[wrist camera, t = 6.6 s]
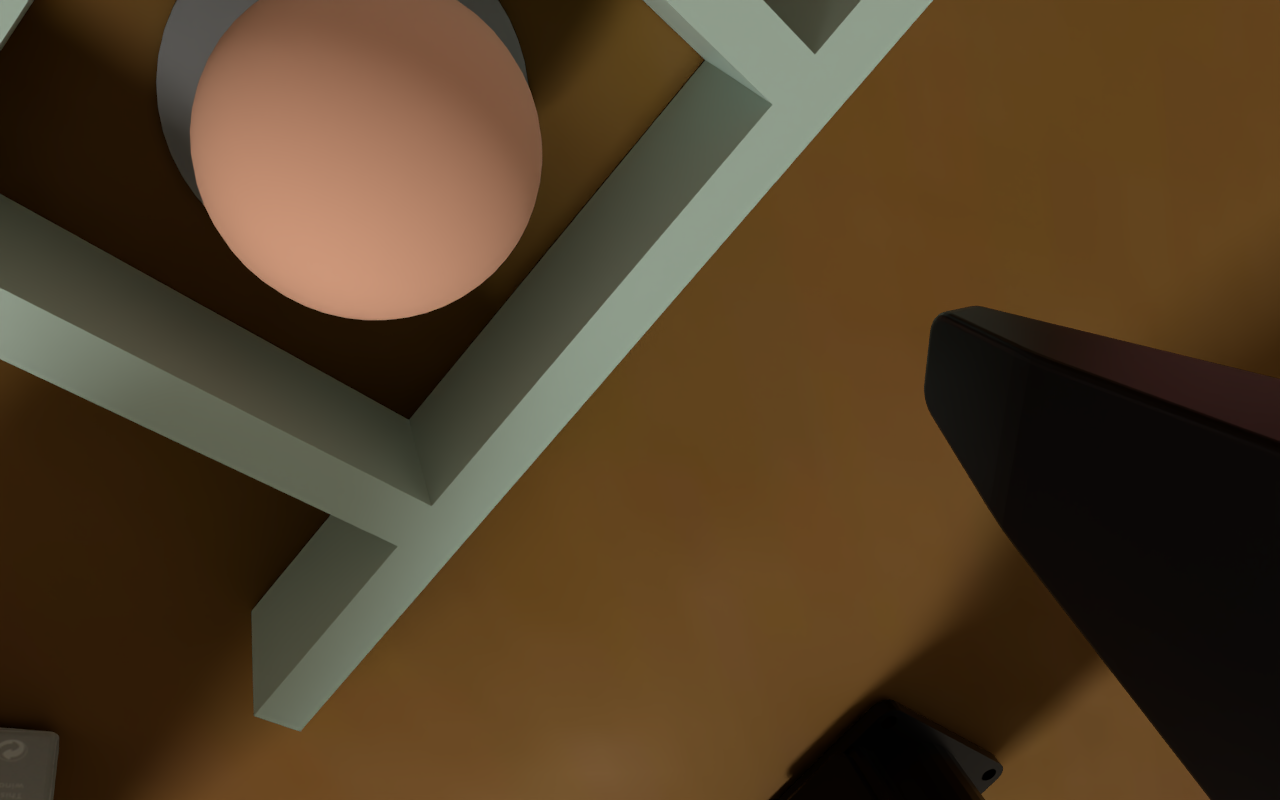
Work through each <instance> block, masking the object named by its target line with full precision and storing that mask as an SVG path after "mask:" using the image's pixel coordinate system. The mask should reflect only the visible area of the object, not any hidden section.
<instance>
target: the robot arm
mask: <svg viewBox="0 0 1280 800" xmlns="http://www.w3.org/2000/svg"><path fill="white" fill-rule="evenodd" d="M924 393H925V400H926V404H927V407H928V409H929V411H930V413H931V415H932V417H933V419H934V420H935V422H936V424H937V425H938V427H939V428H940V430H941V432H942V433H943V435H944V437H945V438H946V440H947V442H948V443H949V445H950V446H951V448H952V450H953V451H954V453H955V455H956V456H957V458H958V460H959V461H960V463H961V464H962V466H963V468H964V469H965V471H966V473H967V474H968V476H969V478H970V479H971V481H972V483H973V484H974V486H975V487H976V489H977V491H978V492H979V494H980V496H981V497H982V499H983V501H984V502H985V504H986V505H987V507H988V509H989V510H990V512H991V513H992V515H993V516H994V518H995V519H996V521H997V522H998V524H999V525H1000V527H1001V528H1002V530H1003V531H1004V533H1005V534H1006V535H1007V537H1008V538H1009V540H1010V541H1011V542H1012V544H1013V545H1014V546H1015V548H1016V549H1017V550H1018V552H1019V553H1020V554H1021V555H1022V557H1023V558H1024V559H1025V561H1026V562H1027V563H1028V565H1029V566H1030V567H1031V568H1032V570H1033V571H1034V572H1035V574H1036V575H1037V576H1038V577H1039V579H1040V580H1041V581H1042V583H1043V584H1044V585H1045V586H1046V588H1047V589H1048V590H1049V592H1050V593H1051V594H1052V596H1053V597H1054V598H1055V599H1056V601H1057V602H1058V603H1059V605H1060V606H1061V607H1062V608H1063V610H1064V611H1065V612H1066V614H1067V615H1068V616H1069V618H1070V619H1071V620H1072V621H1073V623H1074V624H1075V625H1076V627H1077V628H1078V629H1079V630H1080V632H1081V633H1082V634H1083V636H1084V637H1085V638H1086V639H1087V641H1088V642H1089V643H1090V645H1091V646H1092V647H1093V649H1094V650H1095V651H1096V652H1097V654H1098V655H1099V656H1100V658H1101V659H1102V660H1103V661H1104V663H1105V664H1106V665H1107V667H1108V668H1109V669H1110V670H1111V672H1112V673H1113V674H1114V676H1115V677H1116V678H1117V680H1118V681H1119V682H1120V683H1121V685H1122V686H1123V687H1124V689H1125V690H1126V691H1127V692H1128V694H1129V695H1130V696H1131V698H1132V699H1133V700H1134V701H1135V703H1136V704H1137V705H1138V707H1139V708H1140V709H1141V711H1142V712H1143V713H1144V714H1145V716H1146V717H1147V718H1148V720H1149V721H1150V722H1151V723H1152V725H1153V726H1154V727H1155V729H1156V730H1157V731H1158V732H1159V734H1160V735H1161V736H1162V738H1163V739H1164V740H1165V742H1166V743H1167V744H1168V745H1169V747H1170V748H1171V749H1172V751H1173V752H1174V753H1175V754H1176V756H1177V757H1178V758H1179V760H1180V761H1181V762H1182V763H1183V765H1184V766H1185V767H1186V769H1187V770H1188V771H1189V773H1190V774H1191V775H1192V776H1193V778H1194V779H1195V780H1196V782H1197V783H1198V784H1199V785H1200V787H1201V788H1202V789H1203V791H1204V792H1205V793H1206V794H1207V796H1208V797H1209V798H1210V800H1280V379H1278V378H1274V377H1269V376H1265V375H1261V374H1257V373H1253V372H1249V371H1245V370H1241V369H1236V368H1232V367H1228V366H1224V365H1220V364H1216V363H1212V362H1208V361H1204V360H1199V359H1195V358H1191V357H1187V356H1183V355H1179V354H1175V353H1171V352H1167V351H1162V350H1158V349H1154V348H1150V347H1146V346H1142V345H1138V344H1134V343H1130V342H1125V341H1121V340H1117V339H1113V338H1109V337H1105V336H1101V335H1097V334H1093V333H1088V332H1084V331H1080V330H1076V329H1072V328H1068V327H1064V326H1060V325H1056V324H1051V323H1047V322H1043V321H1039V320H1035V319H1031V318H1027V317H1023V316H1019V315H1014V314H1010V313H1006V312H1002V311H998V310H994V309H990V308H986V307H982V306H970V307H965V308H960V309H956V310H951V311H946V312H943V313H940V314H939V315H938V316H937V317H936V318H935V319H934V321H933V323H932V326H931V330H930V338H929V347H928V356H927V365H926V374H925V383H924ZM1002 771H1003V766H1002V765H1001V764H1000V763H999V761H998V760H997V759H996V757H995V756H994V755H993V754H991V753H990V752H988V751H986V750H984V749H982V748H980V747H978V746H977V745H975V744H973V743H971V742H969V741H967V740H966V739H964V738H962V737H960V736H958V735H956V734H954V733H953V732H951V731H949V730H947V729H945V728H943V727H942V726H940V725H938V724H936V723H934V722H932V721H931V720H929V719H927V718H925V717H923V716H921V715H919V714H918V713H916V712H914V711H912V710H910V709H908V708H907V707H905V706H903V705H901V704H899V703H897V702H895V701H893V700H883V701H881V702H879V703H877V704H876V705H874V706H873V707H872V708H871V709H870V710H869V711H868V712H867V713H866V714H865V715H864V716H863V717H862V718H861V719H860V720H859V721H858V722H857V723H856V724H855V725H853V726H852V727H851V728H850V729H849V730H848V731H847V732H846V733H845V734H844V735H843V736H842V737H841V738H840V739H839V740H838V741H837V742H836V743H835V744H834V745H833V746H832V747H831V748H830V749H829V750H828V751H827V752H826V753H825V754H824V755H823V756H822V757H821V758H820V759H819V760H818V761H817V762H816V763H815V764H814V765H813V766H812V767H811V768H810V769H809V770H808V771H807V772H806V773H805V774H804V775H803V776H802V777H801V778H799V779H798V780H797V781H796V782H795V783H794V784H793V785H792V786H791V787H790V788H789V789H788V790H787V791H786V792H785V793H784V794H783V795H782V796H781V797H780V798H779V799H778V800H985V799H984V798H983V796H982V795H981V794H982V793H983V792H984V791H985V790H986V789H987V788H988V787H989V786H990V785H991V784H992V783H993V782H995V781H996V780H997V779H998V778H999V776H1000V775H1001V773H1002Z"/></svg>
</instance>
